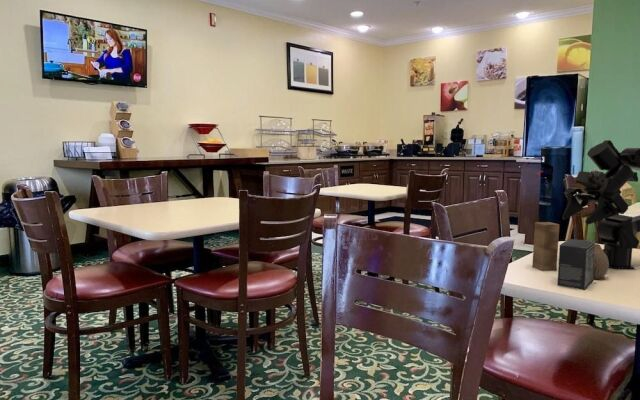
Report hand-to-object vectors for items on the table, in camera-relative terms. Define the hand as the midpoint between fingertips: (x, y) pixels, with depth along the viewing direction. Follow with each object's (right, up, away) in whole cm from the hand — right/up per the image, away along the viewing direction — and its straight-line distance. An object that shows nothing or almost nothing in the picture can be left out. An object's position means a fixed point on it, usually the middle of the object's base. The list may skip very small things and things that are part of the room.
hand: (574, 220), depth 131 cm
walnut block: (-9, -14, 0) cm, 16 cm away
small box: (-8, -15, -14) cm, 22 cm away
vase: (0, -15, -8) cm, 17 cm away
